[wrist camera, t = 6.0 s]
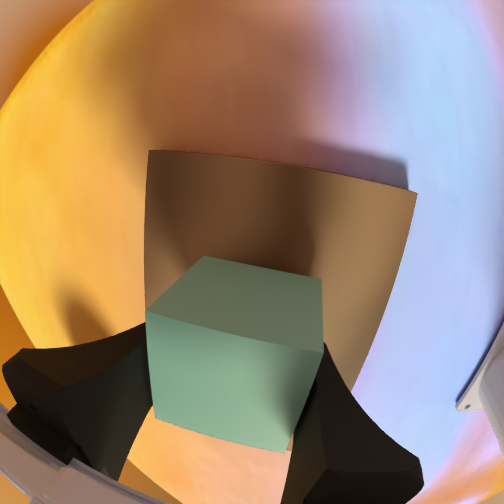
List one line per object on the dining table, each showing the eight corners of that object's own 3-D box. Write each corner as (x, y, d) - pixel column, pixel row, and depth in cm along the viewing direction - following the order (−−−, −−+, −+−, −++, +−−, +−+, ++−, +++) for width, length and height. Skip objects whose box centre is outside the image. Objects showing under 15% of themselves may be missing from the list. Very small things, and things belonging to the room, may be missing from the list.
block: (321, 279, 12) (323, 352, 7) (295, 370, 14) (284, 453, 9) (203, 255, 13) (144, 310, 8) (197, 347, 14) (154, 417, 10)
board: (409, 190, 12) (417, 193, 11) (317, 442, 18) (316, 454, 17) (160, 150, 14) (148, 150, 13) (162, 405, 20) (156, 415, 19)
